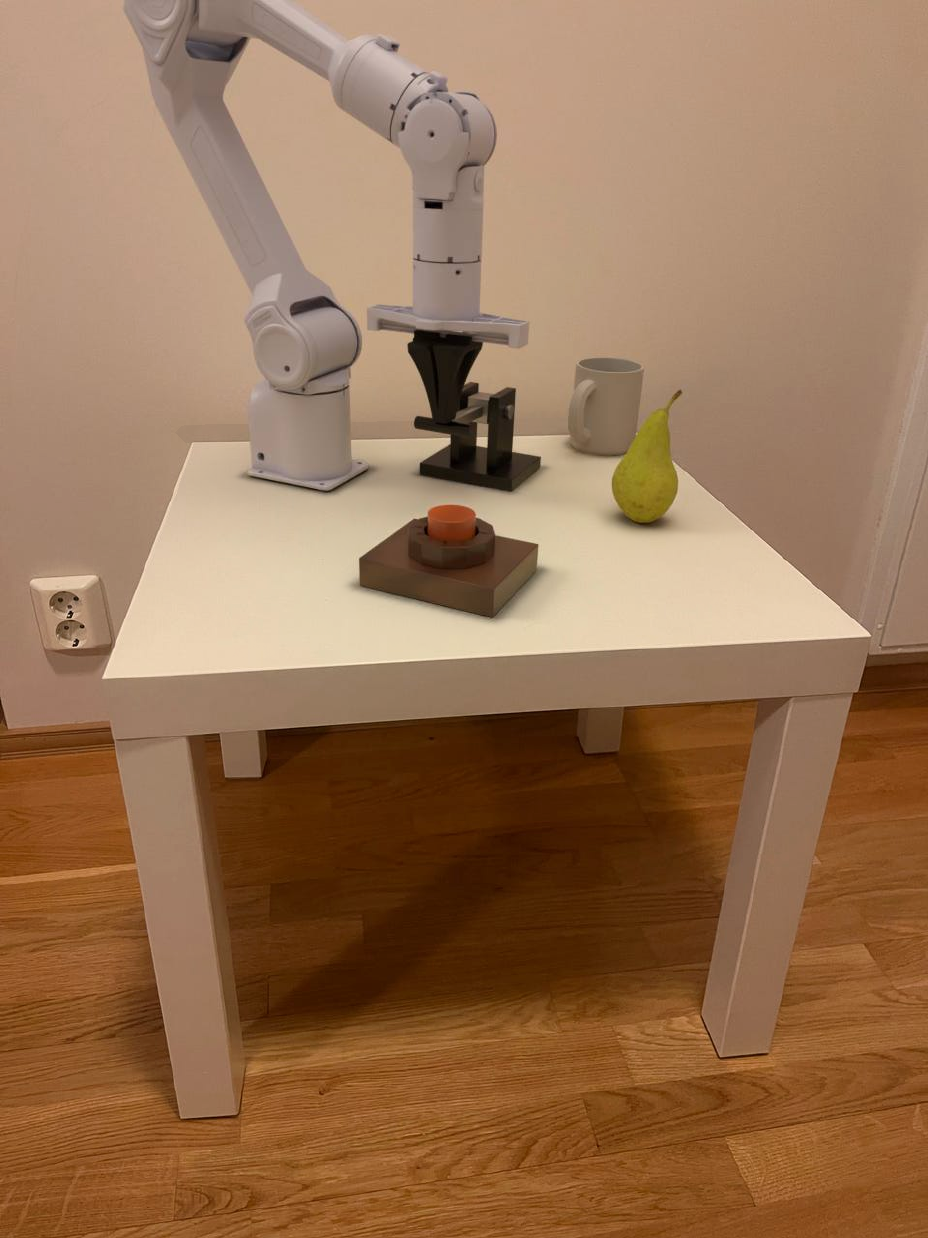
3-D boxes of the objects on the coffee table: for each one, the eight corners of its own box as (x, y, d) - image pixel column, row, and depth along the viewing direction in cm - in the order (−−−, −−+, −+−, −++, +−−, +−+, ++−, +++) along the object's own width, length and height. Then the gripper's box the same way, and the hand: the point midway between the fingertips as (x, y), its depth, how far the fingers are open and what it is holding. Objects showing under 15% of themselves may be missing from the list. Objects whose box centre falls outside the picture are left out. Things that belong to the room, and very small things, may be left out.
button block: (359, 585, 69) (357, 536, 67) (414, 543, 76) (414, 498, 74) (492, 618, 65) (495, 567, 63) (537, 570, 72) (540, 523, 70)
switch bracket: (511, 491, 88) (516, 406, 84) (419, 474, 91) (419, 391, 87) (540, 467, 94) (546, 387, 90) (453, 452, 98) (455, 374, 94)
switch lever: (467, 445, 81) (469, 418, 80) (413, 436, 83) (413, 410, 82) (513, 421, 90) (515, 396, 89) (463, 413, 92) (464, 389, 91)
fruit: (598, 509, 84) (612, 379, 78) (657, 506, 85) (675, 377, 79) (621, 534, 79) (638, 396, 73) (683, 529, 80) (704, 394, 75)
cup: (646, 446, 101) (657, 365, 97) (596, 466, 95) (604, 380, 90) (593, 432, 106) (600, 354, 101) (541, 450, 99) (546, 368, 95)
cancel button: (419, 538, 68) (419, 516, 67) (440, 522, 71) (440, 501, 70) (462, 547, 67) (463, 525, 66) (482, 530, 69) (483, 509, 69)
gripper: (346, 256, 75) (351, 419, 81) (509, 271, 69) (501, 444, 76) (388, 248, 80) (389, 401, 87) (541, 262, 75) (531, 423, 82)
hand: (444, 420), depth 82 cm, fingers closed
